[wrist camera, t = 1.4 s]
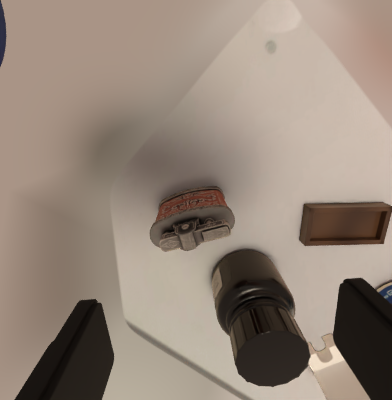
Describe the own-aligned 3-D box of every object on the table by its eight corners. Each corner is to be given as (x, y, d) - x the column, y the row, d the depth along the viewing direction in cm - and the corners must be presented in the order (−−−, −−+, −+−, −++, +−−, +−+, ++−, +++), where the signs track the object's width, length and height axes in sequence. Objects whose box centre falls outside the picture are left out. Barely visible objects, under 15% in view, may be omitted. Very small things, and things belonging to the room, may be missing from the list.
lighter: (163, 222, 30) (152, 269, 20) (155, 198, 29) (139, 235, 19) (226, 206, 29) (244, 247, 20) (220, 180, 28) (235, 210, 19)
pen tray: (299, 240, 31) (304, 246, 30) (303, 203, 30) (310, 208, 28) (374, 238, 31) (383, 244, 30) (383, 202, 30) (393, 206, 28)
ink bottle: (197, 268, 32) (201, 348, 21) (254, 234, 31) (292, 300, 19) (234, 315, 35) (256, 409, 23) (288, 286, 33) (339, 371, 22)
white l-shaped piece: (321, 385, 40) (362, 467, 30) (299, 346, 37) (338, 423, 27) (351, 373, 39) (403, 453, 30) (332, 332, 36) (382, 407, 27)
